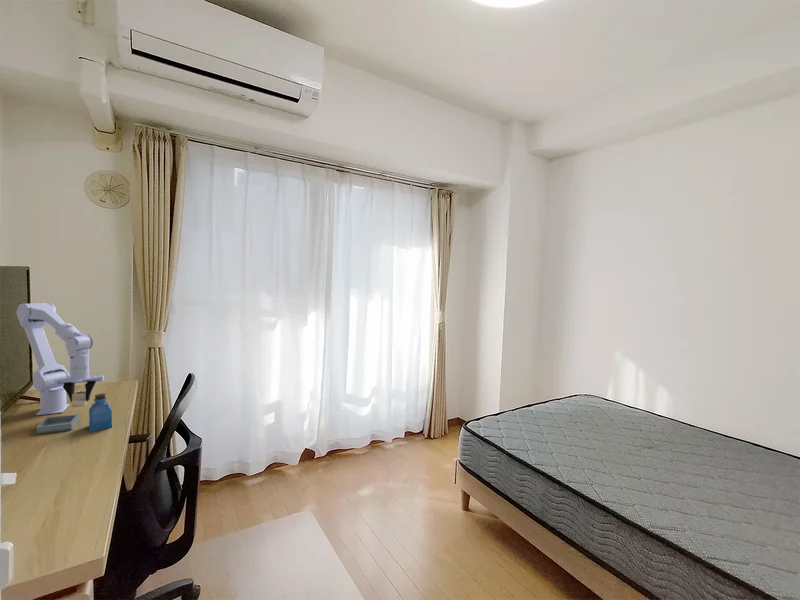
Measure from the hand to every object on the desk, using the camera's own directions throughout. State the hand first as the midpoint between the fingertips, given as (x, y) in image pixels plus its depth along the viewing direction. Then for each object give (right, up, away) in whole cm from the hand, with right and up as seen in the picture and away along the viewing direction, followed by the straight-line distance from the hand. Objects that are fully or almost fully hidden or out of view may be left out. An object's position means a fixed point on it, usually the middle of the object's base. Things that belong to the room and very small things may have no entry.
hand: (80, 400), depth 147 cm
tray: (+1, -7, -10) cm, 12 cm away
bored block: (0, -2, 0) cm, 2 cm away
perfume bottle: (+14, -8, -8) cm, 18 cm away
